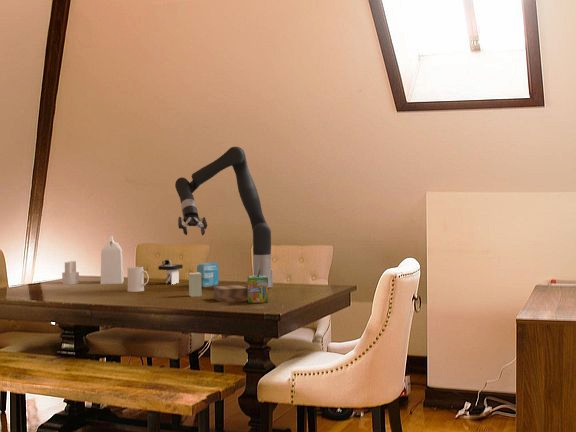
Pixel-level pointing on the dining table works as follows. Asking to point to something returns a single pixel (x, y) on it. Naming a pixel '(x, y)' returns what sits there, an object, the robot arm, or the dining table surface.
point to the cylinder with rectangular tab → (70, 273)
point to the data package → (208, 274)
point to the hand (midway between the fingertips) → (194, 234)
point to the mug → (136, 279)
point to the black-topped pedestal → (171, 271)
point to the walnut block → (230, 293)
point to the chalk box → (257, 289)
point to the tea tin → (195, 284)
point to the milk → (112, 263)
